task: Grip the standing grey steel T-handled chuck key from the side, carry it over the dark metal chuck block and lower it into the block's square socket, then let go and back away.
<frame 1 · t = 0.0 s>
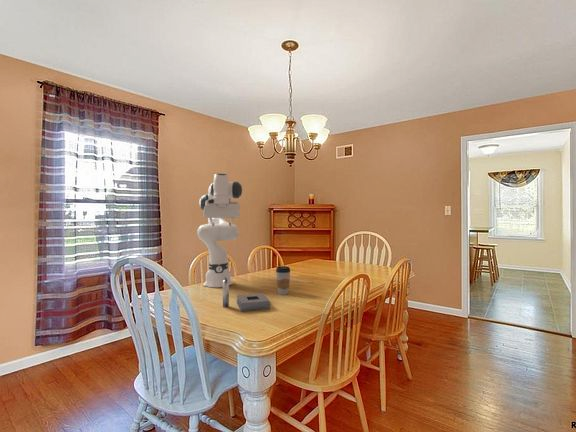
hand: (221, 226, 174), 39 cm above the table, tool pointing down, fingers open, 8 cm apart
chuck block: (252, 306, 155), on the table
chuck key: (225, 306, 154), on the table
coffee cup: (283, 293, 178), on the table
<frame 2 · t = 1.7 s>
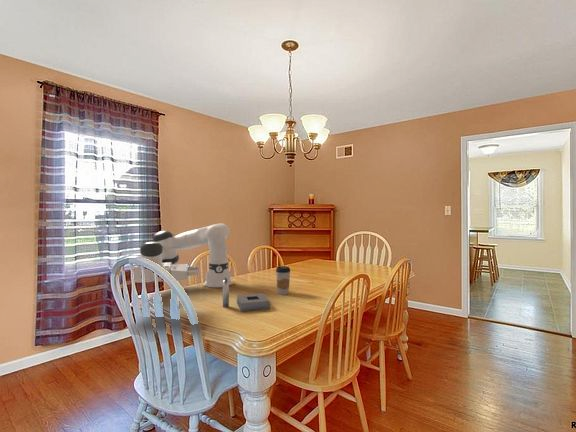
hand: (198, 270, 150), 19 cm above the table, tool horizontal, fingers open, 8 cm apart
nothing on the table moved.
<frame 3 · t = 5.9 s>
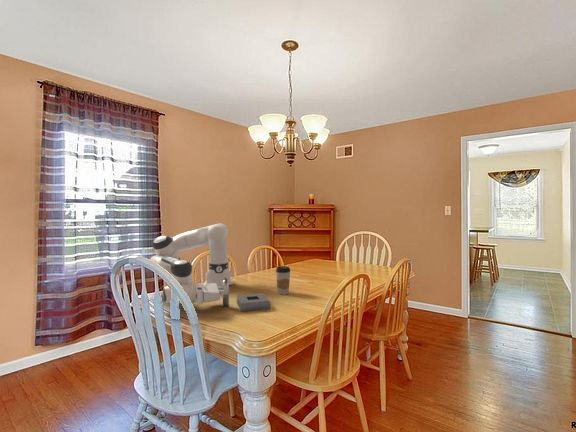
hand: (227, 290, 154), 8 cm above the table, tool horizontal, fingers closed on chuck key, 3 cm apart
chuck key: (225, 306, 154), on the table, touching gripper
everything else where it was.
when the fingers open (9 cm above the table, at t = 10.1 s): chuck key drops 1 cm, resting in chuck block.
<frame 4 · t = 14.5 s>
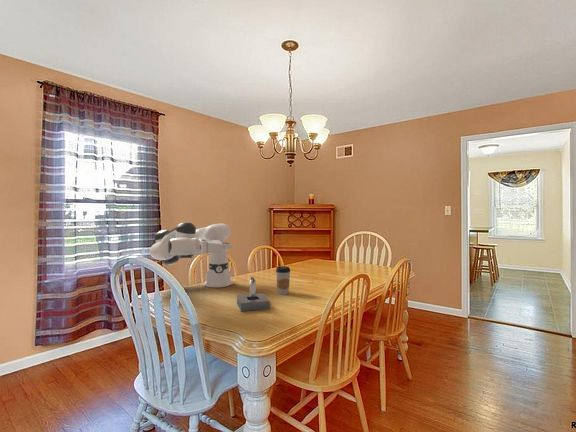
hand: (230, 245, 159), 30 cm above the table, tool horizontal, fingers open, 8 cm apart
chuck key: (252, 306, 155), resting in chuck block
everything else where it was.
at the end: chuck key 0.0 cm off-centre on the chuck block, point 0.0 cm above the chuck block's base; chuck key tilted 0°; the gripper is holding nothing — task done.
